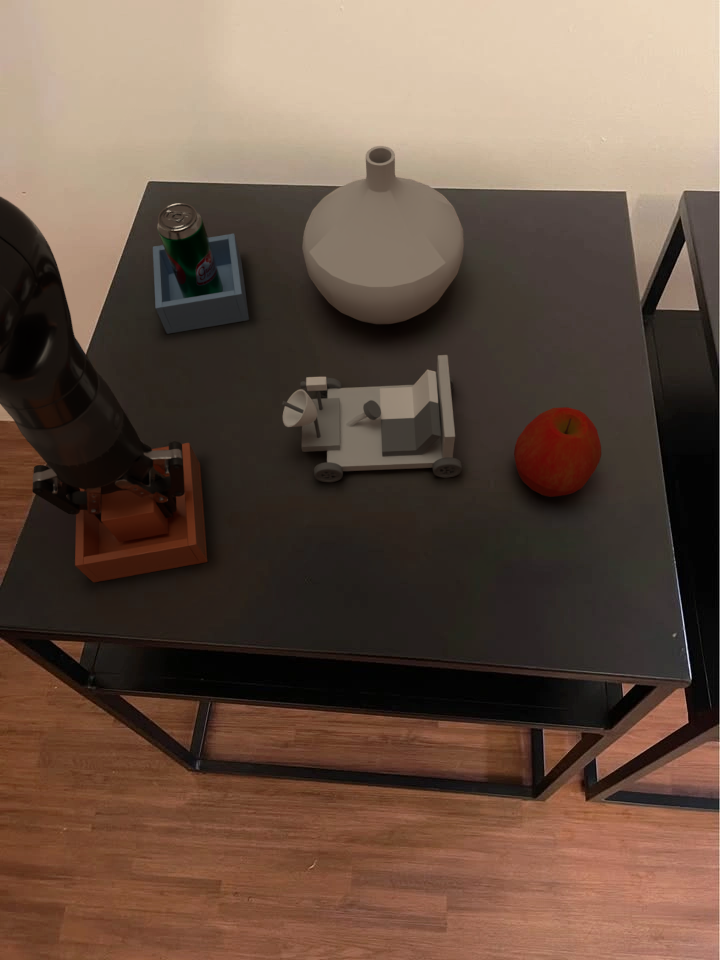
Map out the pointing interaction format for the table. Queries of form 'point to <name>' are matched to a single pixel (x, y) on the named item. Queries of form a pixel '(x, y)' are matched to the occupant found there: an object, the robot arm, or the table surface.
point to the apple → (558, 452)
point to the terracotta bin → (178, 548)
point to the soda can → (189, 250)
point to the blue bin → (203, 308)
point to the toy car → (378, 424)
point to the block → (132, 516)
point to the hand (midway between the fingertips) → (141, 514)
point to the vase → (383, 244)
